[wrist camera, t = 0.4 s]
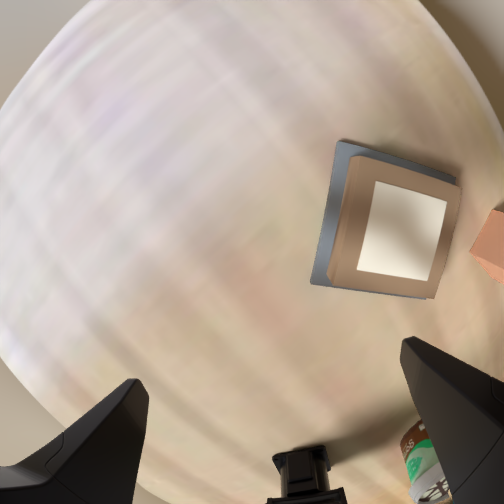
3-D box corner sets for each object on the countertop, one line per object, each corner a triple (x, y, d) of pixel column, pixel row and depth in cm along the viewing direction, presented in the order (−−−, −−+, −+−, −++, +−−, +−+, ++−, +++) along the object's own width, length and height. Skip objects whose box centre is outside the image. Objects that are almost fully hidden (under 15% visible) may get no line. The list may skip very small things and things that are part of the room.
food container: (393, 422, 28) (419, 484, 18) (437, 403, 27) (470, 458, 17) (390, 466, 31) (407, 517, 21) (427, 451, 30) (448, 498, 20)
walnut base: (422, 296, 23) (439, 311, 20) (309, 281, 23) (316, 297, 20) (452, 177, 20) (473, 179, 17) (336, 141, 20) (348, 137, 17)
